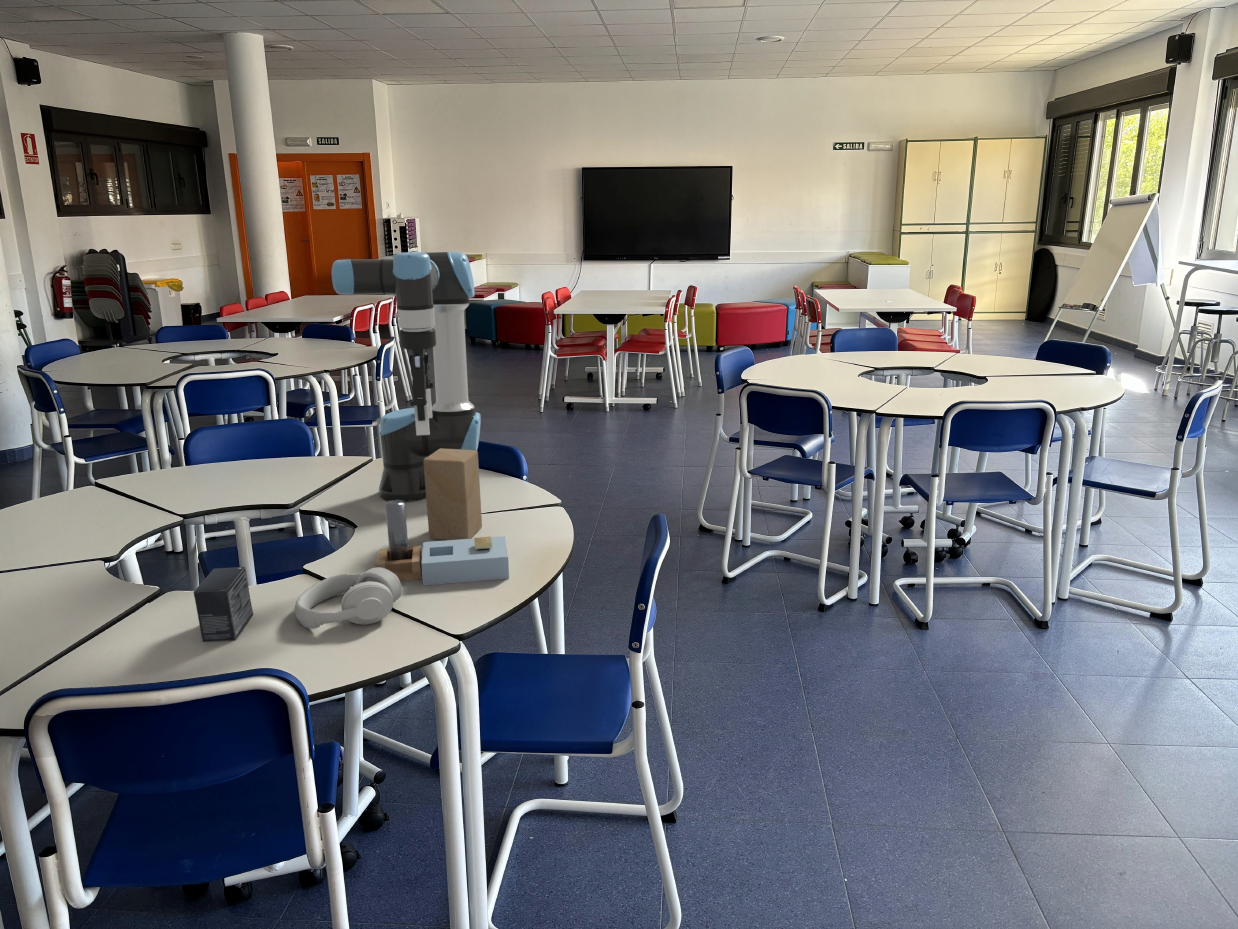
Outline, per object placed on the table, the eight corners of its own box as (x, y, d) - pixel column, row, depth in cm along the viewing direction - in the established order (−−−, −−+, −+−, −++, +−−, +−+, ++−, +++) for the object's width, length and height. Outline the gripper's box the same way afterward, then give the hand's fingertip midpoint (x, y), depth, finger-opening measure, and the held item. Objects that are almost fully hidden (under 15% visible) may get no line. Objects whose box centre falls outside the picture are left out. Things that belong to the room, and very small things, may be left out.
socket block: (424, 563, 193) (423, 542, 192) (505, 556, 197) (504, 536, 195) (423, 585, 182) (421, 563, 181) (509, 578, 185) (508, 556, 184)
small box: (220, 616, 169) (212, 567, 166) (254, 614, 170) (247, 565, 167) (199, 642, 159) (191, 590, 156) (236, 641, 160) (228, 589, 157)
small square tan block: (475, 561, 191) (474, 537, 189) (492, 560, 192) (490, 536, 190) (476, 568, 188) (474, 544, 186) (492, 567, 188) (491, 542, 187)
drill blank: (392, 569, 190) (386, 500, 186) (410, 567, 191) (405, 499, 186) (390, 576, 187) (384, 506, 182) (409, 575, 187) (404, 505, 183)
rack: (381, 565, 192) (379, 548, 191) (422, 562, 194) (421, 545, 193) (378, 582, 184) (376, 565, 183) (421, 578, 185) (419, 561, 184)
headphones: (414, 590, 179) (322, 601, 181) (406, 555, 177) (312, 566, 178) (387, 632, 161) (285, 644, 163) (377, 594, 159) (274, 606, 161)
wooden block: (468, 542, 205) (463, 461, 199) (428, 539, 207) (422, 459, 201) (482, 527, 214) (478, 449, 208) (444, 524, 216) (439, 447, 210)
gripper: (402, 319, 193) (410, 412, 199) (393, 339, 169) (402, 443, 176) (437, 318, 194) (443, 410, 200) (432, 338, 170) (440, 441, 177)
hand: (424, 426), depth 188 cm, fingers open, 13 cm apart
